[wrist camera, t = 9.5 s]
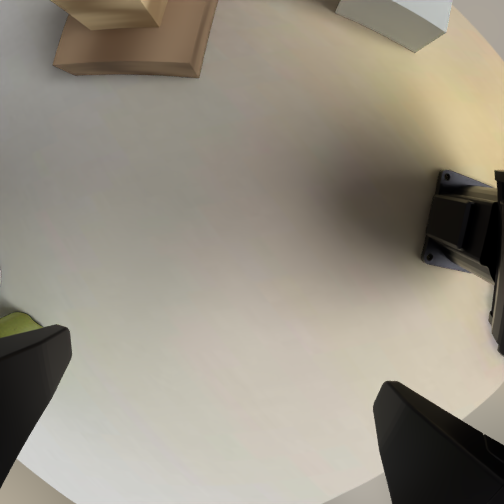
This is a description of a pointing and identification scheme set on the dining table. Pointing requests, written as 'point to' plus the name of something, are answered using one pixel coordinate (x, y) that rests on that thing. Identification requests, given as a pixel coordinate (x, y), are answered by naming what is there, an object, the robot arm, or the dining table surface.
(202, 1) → the walnut block
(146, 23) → the oak block
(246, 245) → the dining table surface
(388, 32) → the grey block
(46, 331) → the robot arm
